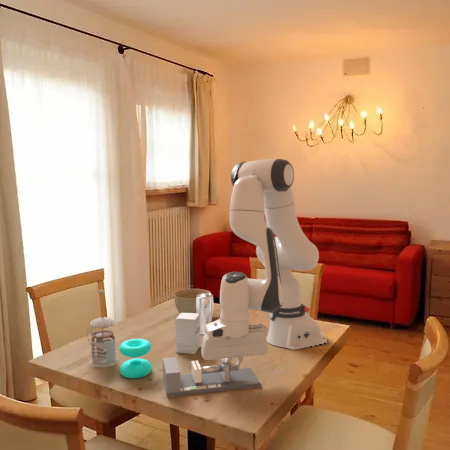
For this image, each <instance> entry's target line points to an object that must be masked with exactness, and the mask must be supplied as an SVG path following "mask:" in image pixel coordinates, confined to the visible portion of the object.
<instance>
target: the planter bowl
mask: <svg viewBox="0 0 450 450" xmlns="http://www.w3.org/2000/svg"><path fill="white" fill-rule="evenodd" d="M202 293H208V294H212V293H211V291H209V290H206V289H200V288H186V289H185V288H183V289H180V290H177V291H175V292H174V293H173V299H174V305H175V308H176V310H177V312H178V314H180V313H196V295H198V294H202Z"/></svg>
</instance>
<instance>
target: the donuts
mask: <svg viewBox="0 0 450 450" xmlns="http://www.w3.org/2000/svg"><path fill="white" fill-rule="evenodd" d="M118 349H119V352H120V354H121V355H123V356H124V357H126V358H131V359H127V360H125V361H124V362H123V363H122V364H121V365H120V369H119V371H120V374H121V375H122V377H125V378H128V379H139V378H143V377H146V376H147V375H149V374H150V373H151V372H152V369H153V367H152V363H151V362H150V361H149V360H147V359H146V358H140V357H142V356H146V355H147V354H149V353H150V351H151V350H152V344H151V342H150V341H149V340H147V339H145V338H131V339H127V340H124V341H123V342H121V344H120V346H119V348H118Z"/></svg>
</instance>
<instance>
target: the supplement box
mask: <svg viewBox="0 0 450 450" xmlns="http://www.w3.org/2000/svg"><path fill="white" fill-rule="evenodd" d="M200 347H201V334H200V314H198V313H179V314H178V315H177V317H176V318H175V353H176V354H177V353H178V354H190V355H191V354H192V355H195V354H196V353H197V352H198V349H199V348H200Z"/></svg>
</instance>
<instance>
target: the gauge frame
mask: <svg viewBox="0 0 450 450" xmlns="http://www.w3.org/2000/svg"><path fill="white" fill-rule="evenodd" d="M162 375H163V376H162V381H163V385H164V391H165V394H166V398H174V397H181V396H192V395H193V396H194V395H200V394H201V395H202V394H209V393H217V392H218V393H219V392H220V393H221V392H226V391H229V392H230V391H236V390H245V389H254V388H255V389H256V388H261V382H260V379H258V377H257V376H256V374H255V372H254V371H253V370H252V368H251V367H245V368H240V370H236V371H230V382H224V380H223V378H222V376H221V374H220V372H216V373H206V374H202V382H199V383H195V382H194V379H193V376H192V373H186V374H181V370H180V367H179V364H178V360H177V357H176V356H172V357H163V358H162Z"/></svg>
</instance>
